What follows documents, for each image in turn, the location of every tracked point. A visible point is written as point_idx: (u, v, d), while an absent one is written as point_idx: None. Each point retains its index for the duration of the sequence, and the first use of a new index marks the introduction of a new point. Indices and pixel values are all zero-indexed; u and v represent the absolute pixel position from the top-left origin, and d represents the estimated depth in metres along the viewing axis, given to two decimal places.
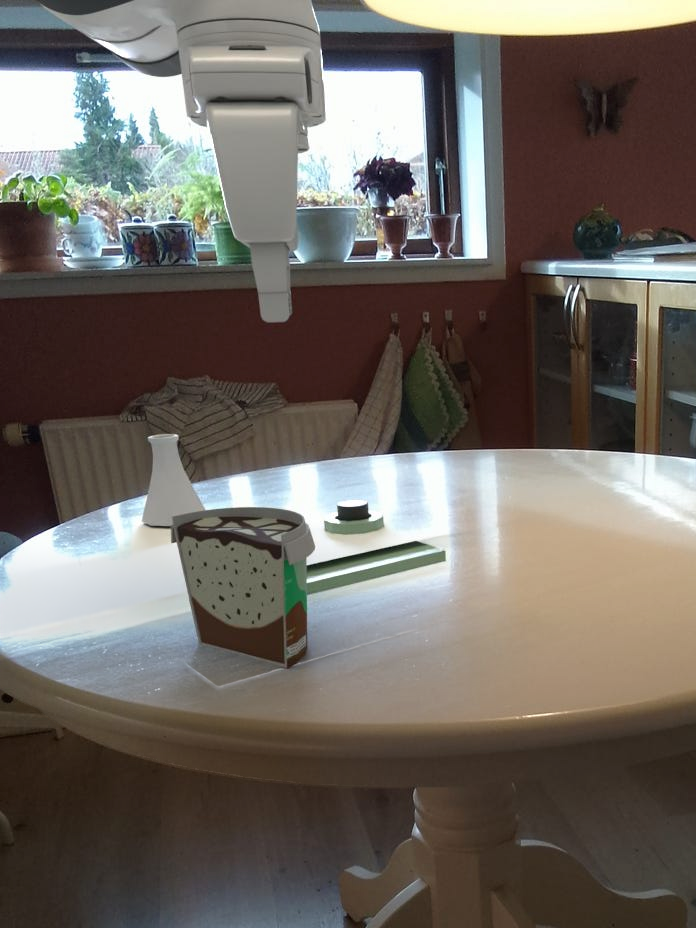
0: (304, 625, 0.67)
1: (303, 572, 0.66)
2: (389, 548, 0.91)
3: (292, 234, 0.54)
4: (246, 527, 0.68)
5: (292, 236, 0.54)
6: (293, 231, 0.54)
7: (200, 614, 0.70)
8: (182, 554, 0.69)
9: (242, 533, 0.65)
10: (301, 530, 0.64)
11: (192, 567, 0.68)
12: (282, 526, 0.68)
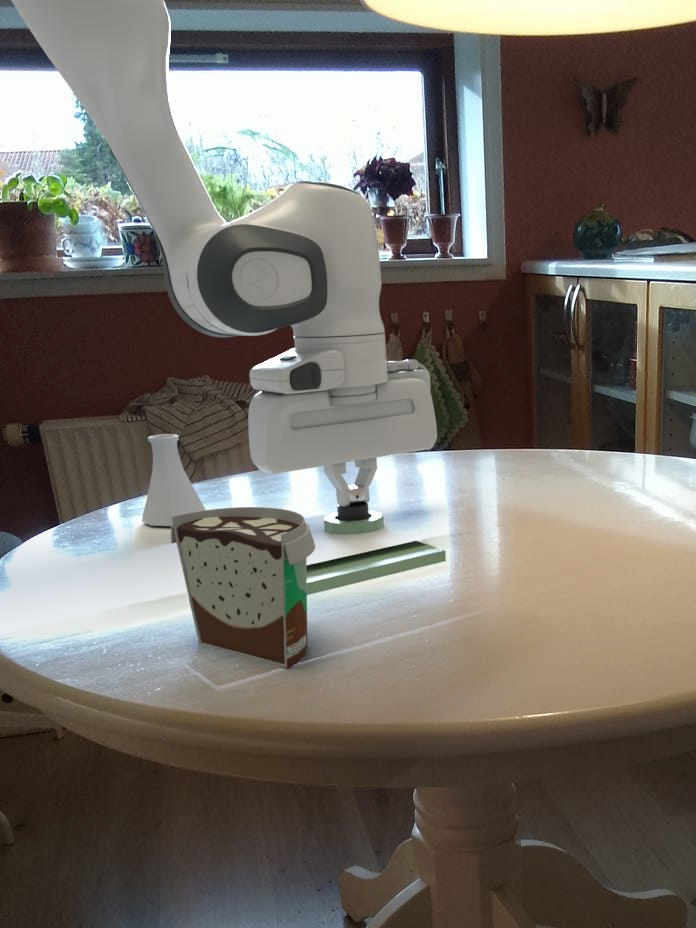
0: (304, 625, 0.67)
1: (303, 572, 0.66)
2: (389, 548, 0.91)
3: (273, 471, 0.88)
4: (246, 527, 0.68)
5: (275, 472, 0.88)
6: (273, 470, 0.87)
7: (200, 614, 0.70)
8: (182, 554, 0.69)
9: (242, 533, 0.65)
10: (301, 530, 0.64)
11: (192, 567, 0.68)
12: (281, 526, 0.68)
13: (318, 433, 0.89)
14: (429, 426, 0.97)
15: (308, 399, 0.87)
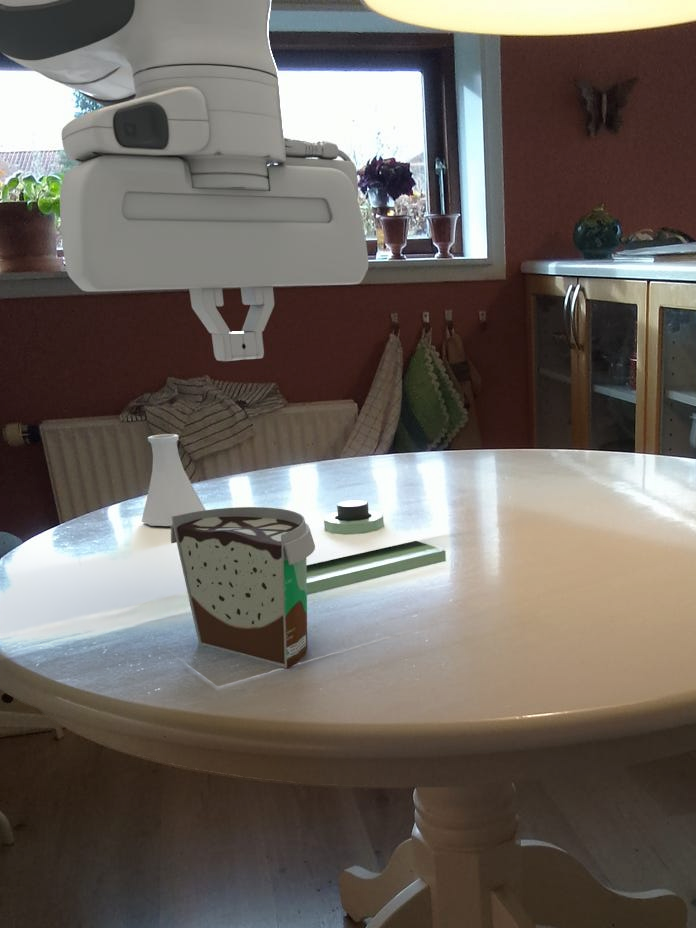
0: (304, 625, 0.67)
1: (303, 572, 0.66)
2: (389, 548, 0.91)
3: (97, 285, 0.55)
4: (246, 527, 0.67)
5: (99, 287, 0.55)
6: (96, 283, 0.55)
7: (200, 614, 0.70)
8: (182, 554, 0.69)
9: (242, 533, 0.65)
10: (301, 530, 0.64)
11: (192, 567, 0.68)
12: (281, 526, 0.68)
13: (172, 231, 0.57)
14: (355, 246, 0.65)
15: (149, 168, 0.54)
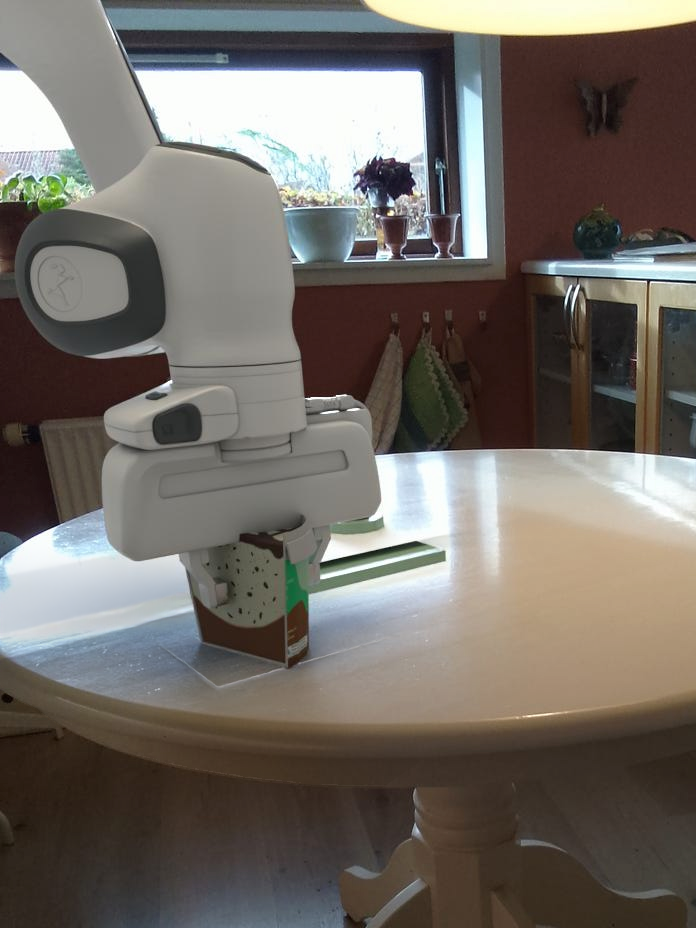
0: (305, 625, 0.67)
1: (305, 572, 0.66)
2: (389, 548, 0.91)
3: (135, 558, 0.61)
4: None
5: (137, 559, 0.61)
6: (135, 556, 0.61)
7: (202, 613, 0.70)
8: None
9: None
10: (303, 530, 0.64)
11: None
12: None
13: (203, 502, 0.63)
14: (369, 486, 0.70)
15: (184, 456, 0.60)
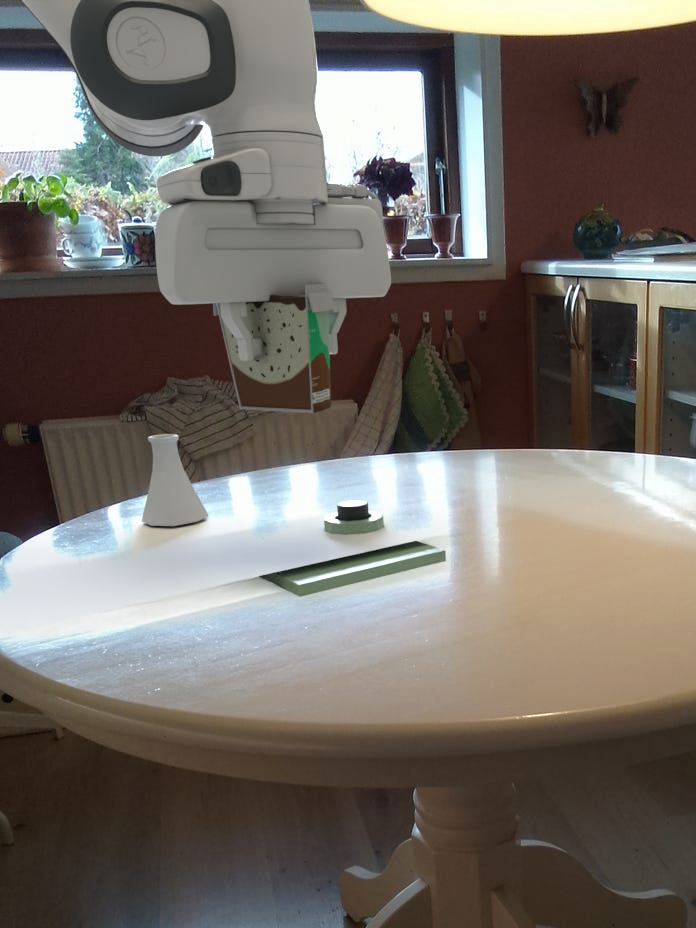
0: (327, 379, 0.78)
1: (325, 328, 0.77)
2: (389, 548, 0.91)
3: (184, 300, 0.72)
4: None
5: (186, 301, 0.72)
6: (184, 298, 0.72)
7: (240, 379, 0.81)
8: (223, 325, 0.80)
9: None
10: (322, 288, 0.75)
11: (232, 334, 0.80)
12: None
13: (241, 258, 0.74)
14: (380, 267, 0.81)
15: (226, 210, 0.71)
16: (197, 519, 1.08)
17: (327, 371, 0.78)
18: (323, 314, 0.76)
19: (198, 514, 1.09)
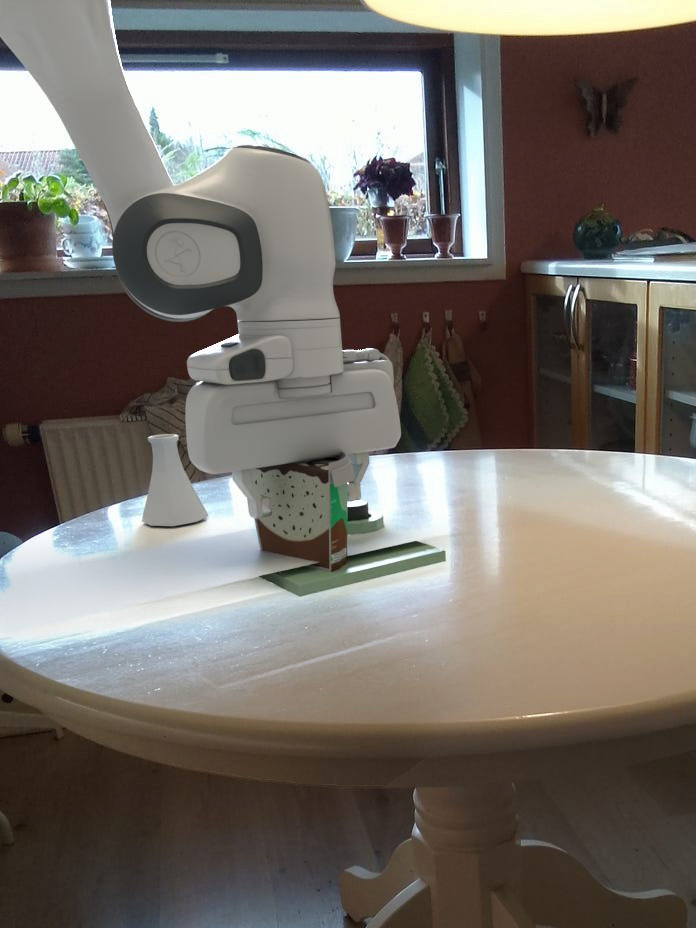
0: (345, 539, 0.85)
1: (345, 496, 0.83)
2: (389, 548, 0.91)
3: (213, 471, 0.78)
4: None
5: (214, 472, 0.78)
6: (212, 469, 0.78)
7: (263, 532, 0.88)
8: None
9: (298, 464, 0.83)
10: (344, 462, 0.82)
11: None
12: (328, 461, 0.86)
13: (264, 429, 0.80)
14: (391, 422, 0.88)
15: (251, 391, 0.77)
16: (197, 519, 1.08)
17: (345, 532, 0.85)
18: (343, 484, 0.83)
19: (198, 514, 1.09)
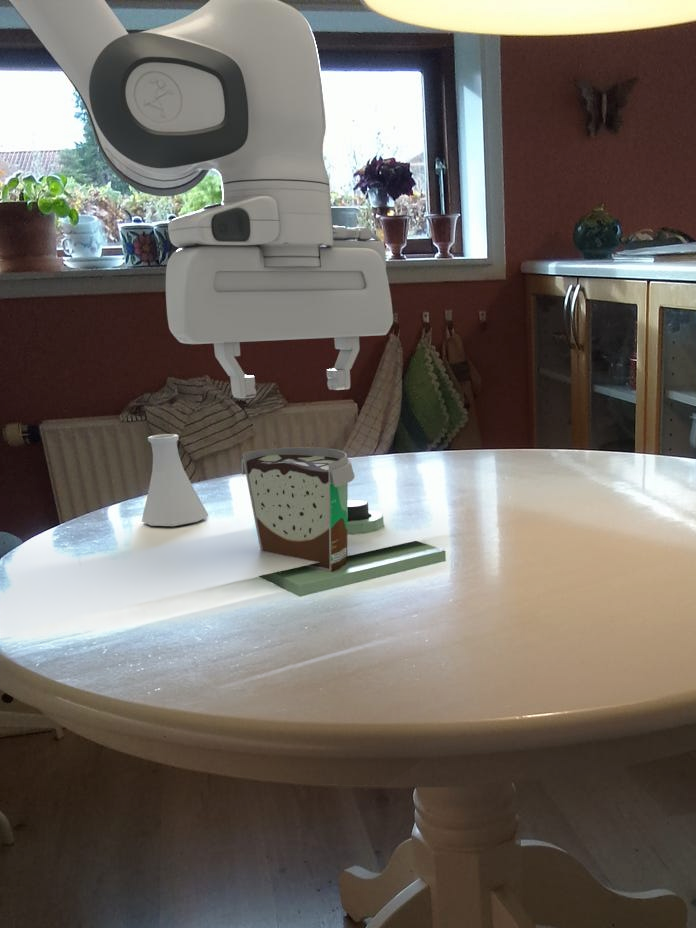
0: (345, 539, 0.85)
1: (345, 496, 0.83)
2: (389, 548, 0.91)
3: (193, 340, 0.74)
4: (300, 461, 0.85)
5: (195, 341, 0.74)
6: (193, 338, 0.74)
7: (263, 532, 0.88)
8: (250, 483, 0.87)
9: (298, 464, 0.83)
10: (344, 462, 0.82)
11: (257, 493, 0.87)
12: (328, 461, 0.86)
13: (249, 299, 0.76)
14: (383, 307, 0.84)
15: (235, 254, 0.73)
16: (197, 519, 1.08)
17: (345, 532, 0.85)
18: (343, 484, 0.83)
19: (198, 514, 1.09)
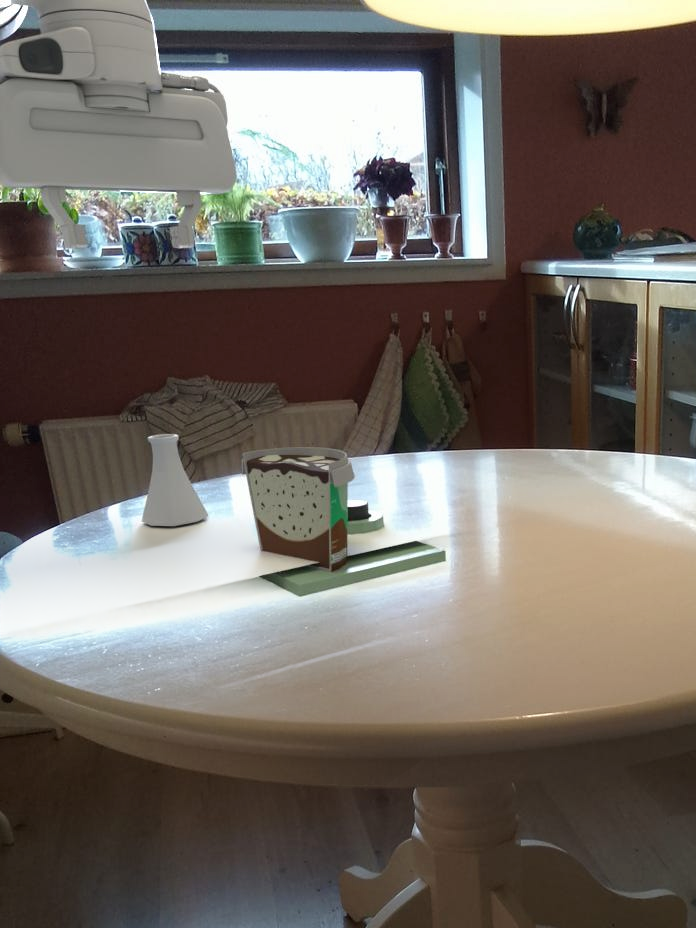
0: (345, 539, 0.85)
1: (345, 496, 0.83)
2: (389, 548, 0.91)
3: (11, 179, 0.73)
4: (300, 461, 0.85)
5: (12, 181, 0.73)
6: (10, 177, 0.73)
7: (263, 532, 0.88)
8: (250, 483, 0.87)
9: (298, 464, 0.83)
10: (344, 462, 0.82)
11: (258, 493, 0.87)
12: (328, 461, 0.86)
13: (70, 140, 0.75)
14: (224, 160, 0.82)
15: (49, 89, 0.72)
16: (197, 519, 1.08)
17: (345, 532, 0.85)
18: (344, 484, 0.83)
19: (198, 514, 1.09)
